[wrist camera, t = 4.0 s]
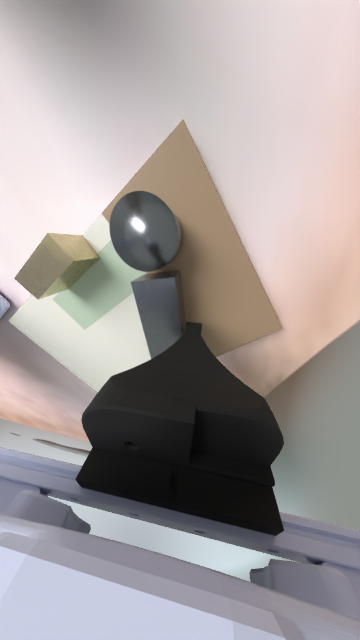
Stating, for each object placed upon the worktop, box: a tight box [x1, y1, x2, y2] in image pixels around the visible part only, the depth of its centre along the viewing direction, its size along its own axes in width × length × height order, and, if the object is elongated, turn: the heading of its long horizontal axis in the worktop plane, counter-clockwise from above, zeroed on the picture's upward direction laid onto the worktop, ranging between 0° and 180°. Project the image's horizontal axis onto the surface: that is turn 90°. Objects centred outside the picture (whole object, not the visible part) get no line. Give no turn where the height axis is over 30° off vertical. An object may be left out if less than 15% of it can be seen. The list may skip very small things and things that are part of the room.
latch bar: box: [109, 191, 186, 359], centre depth 9 cm, size 12×3×3 cm, turn 7°
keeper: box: [15, 233, 101, 300], centre depth 9 cm, size 4×2×2 cm, turn 125°
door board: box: [8, 120, 282, 393], centre depth 13 cm, size 20×13×1 cm, turn 125°
